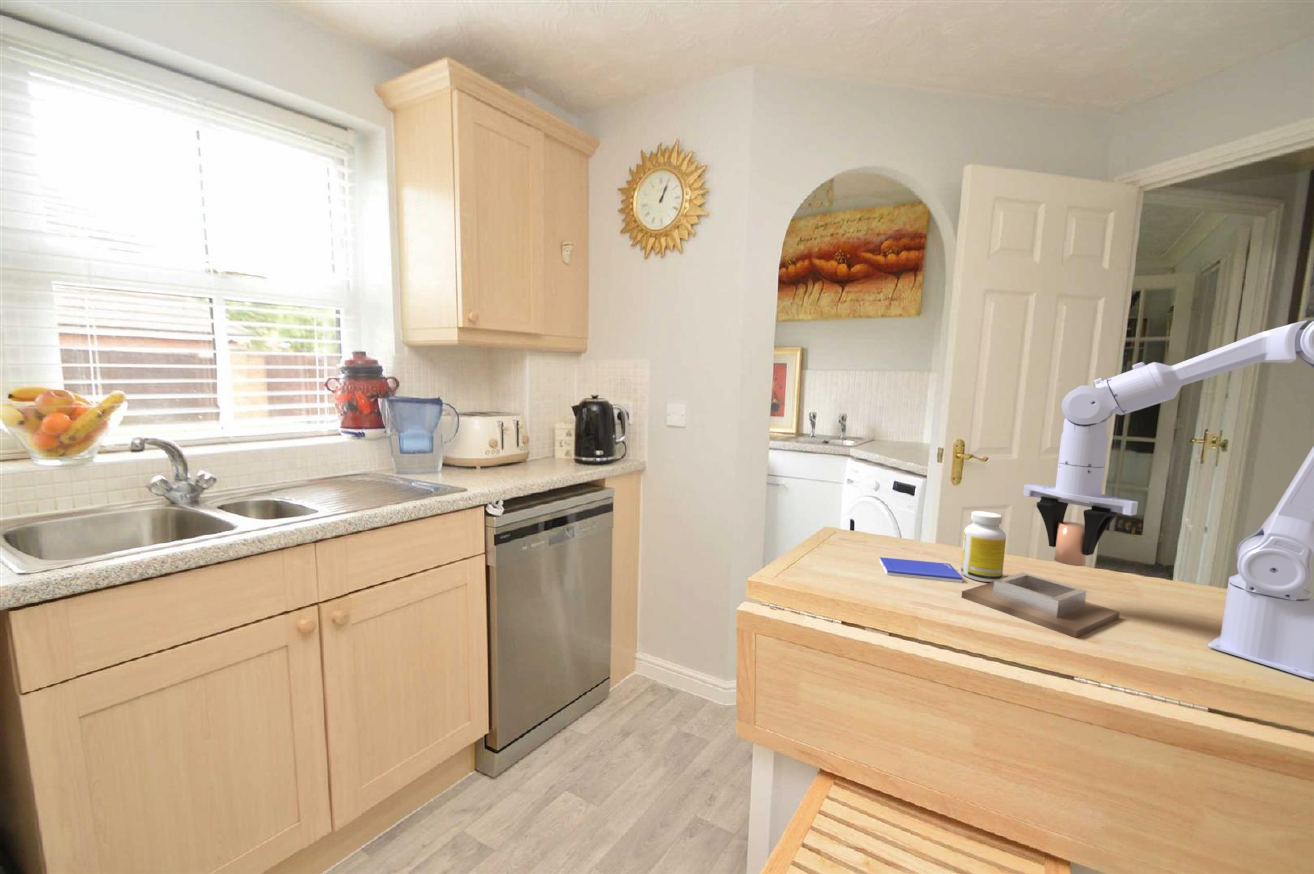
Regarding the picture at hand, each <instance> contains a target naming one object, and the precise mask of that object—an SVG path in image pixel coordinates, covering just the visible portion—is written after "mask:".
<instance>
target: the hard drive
mask: <svg viewBox="0 0 1314 874" xmlns="http://www.w3.org/2000/svg"><path fill="white" fill-rule="evenodd" d="M878 561H879V563H880V565H881V567H882V569H883V570H884V572H885V574H886V575H887V576H890V577H891V576H892V577H893V576H894V577H903V578H909V579H920V580H933V581H941V582H948V583H949V582H950V583H959V584H961V583H962V584H963V581H964V579H963V576H962V575H961V574H960V572H958V570H956V568H954V567H953V566H952V564H951V563H947V562H946V563H945V562H935V561H923V560H913V559H904V558H903V559H901V558H890V557H879V558H878Z"/></svg>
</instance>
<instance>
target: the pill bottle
mask: <svg viewBox="0 0 1314 874" xmlns="http://www.w3.org/2000/svg"><path fill="white" fill-rule="evenodd" d="M1002 518H1003V517H1002V515H1001V514H999V513H995V512H989V511H982V510H975V511H971V515H970V520H971V521H972V523H971V524H969V525H967V526H965V528H964V531H963V540H962V541H963V543H962V551H961V552H962V553H961V554H962V555H961V565H960V572H961V574H962V575H963V576H965V577H966V578H969V579H971V580H975V581H979V582H984V583H985V582H986V583H992V582H994V581H995V580H999V579H1002V578H1003V571H1004V562H1005V551H1006V550H1005V549H1006V541H1007V535H1006V532H1005V531H1004V530H1003V529H1002V528H1000V525H1001V524H1002Z"/></svg>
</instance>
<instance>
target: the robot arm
mask: <svg viewBox="0 0 1314 874" xmlns="http://www.w3.org/2000/svg"><path fill="white" fill-rule="evenodd" d="M1307 322H1308V319H1307V320H1302V321H1298V322H1294V323H1290V324H1287V325H1283V326H1280V327H1279V326H1278V327H1274V328H1272V329H1268V330H1265V331H1261V332H1258V333H1255V334H1253V335H1251V336H1248V337H1244V338H1242V339H1240V340H1236V341H1235V342H1232V343H1229V344H1226V345H1224V346H1221V347H1218V348H1216V349H1213V350H1211V351H1208V352H1205V353H1202V354H1200V355H1197V356H1194V357H1191V358H1190V359H1189V358H1188V359H1187V360H1184V361H1181V362H1179V363H1175V364H1173V365H1168V364H1165V363H1161V362H1155V361H1153V362H1150V363H1148V364H1145V362H1144V361H1141V362H1138V363H1135V364H1133V365H1132V369H1131V370H1129V371H1125V372H1123V373H1120V374H1117V375H1114V376H1112V377H1108V378H1106V379H1104V378H1102V377H1099V378H1097V379H1094V380H1093V382H1094V384H1095V385H1094V386H1093V385H1080V386H1078V387H1076V388H1075V389H1073V390H1071V391H1069V392H1068V393H1067V394H1066V395H1065V397H1063V400H1062V401H1061V412H1062V414H1063V415H1064V417H1065V418H1064V420H1063V421H1064V422H1063V423H1062V433H1061V436H1060V444H1059V454H1058V459H1057V460H1058V461H1057V469H1056V480H1055V486H1047V485H1041V484H1040V485H1039V484H1034V483H1027V484H1024V485H1023V486H1024V487H1023V493H1022V494H1023V495H1022V496H1023V497H1029V498H1032V497H1033V498H1038V499H1040V500H1039V501H1037V502H1036V508H1037V510H1038V512H1039V513H1040V515H1041V518H1042V519H1043V520H1042V521H1043V522H1044V526H1045V529H1046V530H1045V531H1046V533H1047V539H1048V546H1049V547H1050V548H1051V547H1052V548H1055V546H1056V537H1057V529H1058V522H1062V521H1064V520H1065V516H1066V512H1067V509H1068V506H1069V504H1070V505H1077V506H1081V507H1086V508H1087V509H1084V510H1083V519H1084V522H1083V524H1084V525H1085V534H1084V540H1083V547H1082V554H1083V555H1087V556H1091V555H1094V553H1095V550H1096V548H1097V544H1098V543H1099V540H1100V538H1101V537H1102V535H1103V534H1104V532H1105V531H1106V529H1107V528H1108V527H1109V525H1110V524H1111V523H1112V522H1113V520H1114V519H1116V517H1117V515H1118V513H1120V514H1122V515H1124V516H1125V515H1126V516H1131V517H1132V516H1136V515H1137V513H1138V512H1137V511H1138V505H1139V502H1138V500H1137V501H1136V500H1130V499H1125V498H1122V497H1121V498H1120V497H1115V496H1111V495H1106V494H1102V487H1103V482H1104V481H1103V480H1104V473H1105V472H1104V471H1105V464H1106V456H1107V455H1106V454H1107V448H1108V440H1109V438H1108V435H1107V433H1108V425H1109V419H1111V417H1112V416H1113V415H1114V414H1116V415H1119V416H1123V415H1125V414H1126V415H1127V414H1129V413H1130V414H1131V413H1133V412H1135V411H1140V410H1142V409H1145V408H1149V407H1151V406H1154V405H1158V404H1161V403H1164V402H1167V401H1170V400H1173V399H1175V398H1176V397H1177V396H1178V393H1179V391H1180V389H1181V388H1182V386H1186V385H1189V384H1192V383H1196V382H1198V381H1202V380H1206V379H1209V378H1211V377H1215V376H1218V375H1222V374H1225V373H1228V372H1232V371H1235V370H1237V369H1242V368H1246V367H1248V366H1251V365H1255V364H1259V363H1269V364H1270V363H1271V364H1272V363H1273V364H1275V363H1278V364H1291V363H1294V362H1295V361H1296V360H1297V357H1298V359H1300V360H1301V361H1302V362H1303V363H1305V364H1306V365H1307V366H1309V367H1311V368H1312V369H1314V320H1313V321H1311V322H1309V324H1308V325H1307V326H1306V327H1305V328H1303V327H1304V325H1305V324H1307ZM1283 493H1284V494H1282V496H1281V498H1280V499H1279V501H1278V503H1277V504H1276V507H1275V508H1274V510H1273V511H1272V512H1271V513H1270V514H1269V516H1268V517H1267V518H1266V519H1265V520H1264V522H1263V523H1262V525H1261V526H1260V528H1259V529H1257V531H1256V532H1254V533H1252V534H1250V535H1249V536H1247V537H1245V538H1244V539H1242V540H1241V541H1240V542H1239V544H1238V545H1237V548H1236V559H1237V563H1236V569H1237V572H1238V573H1237V574H1235V575H1231V576H1229V577H1228V583H1227V589H1226V596H1225V603H1224V610H1223V611H1224V612H1223V618H1222V624H1221V631H1220V635H1219V636H1217V637H1216V638H1214V639H1213V640H1212V641H1210V642H1208V645H1207V647H1208V648H1211V649H1213V650H1217V651H1220V652H1223V653H1227V654H1229V655H1233V656H1236V657H1239V658H1241V659H1245V660H1248V661H1251V662H1255V663H1258V664H1262V665H1265V666H1268V667H1271V668H1274V669H1277V670H1281V671H1283V672H1287V673H1290V674H1293V675H1297V676H1300V677H1303V678H1305V679H1309V680H1314V598H1312V597H1311V596H1312V594H1311V591H1310V590H1309V589H1307V587H1308V586H1309V585H1310V583H1311V582H1312V579H1313V574H1314V573H1313V567H1312V566H1313V565H1312V563H1313V562H1312V561H1313V558H1314V445H1313V446H1312V448H1311V449H1310V450H1309V452H1308V454H1307V456H1306V457H1305V459H1304V461H1303V462H1302V464H1301V466H1300V467H1299V469H1298V471H1297V472H1296V473H1295V475H1294V477H1293V478H1292V480H1291V482H1290V483H1289V485H1288V487H1287V488H1286V490H1285V492H1283ZM1088 508H1090V509H1088Z"/></svg>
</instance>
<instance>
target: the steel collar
mask: <svg viewBox="0 0 1314 874" xmlns="http://www.w3.org/2000/svg"><path fill="white" fill-rule="evenodd" d="M993 596H994V597H997V598H1000V599H1003V600H1006V601H1009V602H1012V603H1015V604H1018V605H1021V606H1024V607H1027V608H1030V609H1032V610H1035V611H1038V612H1041V613H1044V614H1047V615H1050V616H1053V617H1056V618H1057V617H1060V616H1062V615H1065V614H1067V613H1070V612H1072V611H1075V610H1077V609H1080V608H1082V607H1085V602H1086V600H1087V599H1086V598H1087V590H1086V589H1082V588H1079V587H1075V586H1072V585H1069V584H1064V583H1061V582H1057V581H1054V580H1051V579H1047V578H1044V577H1042V576H1037V575H1034V574H1030V573H1027V572H1020V573H1016V574H1013V575H1010V576H1009V575H1008V576H1006V577H1002V579H999V580H995V581H994V588H993Z"/></svg>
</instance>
